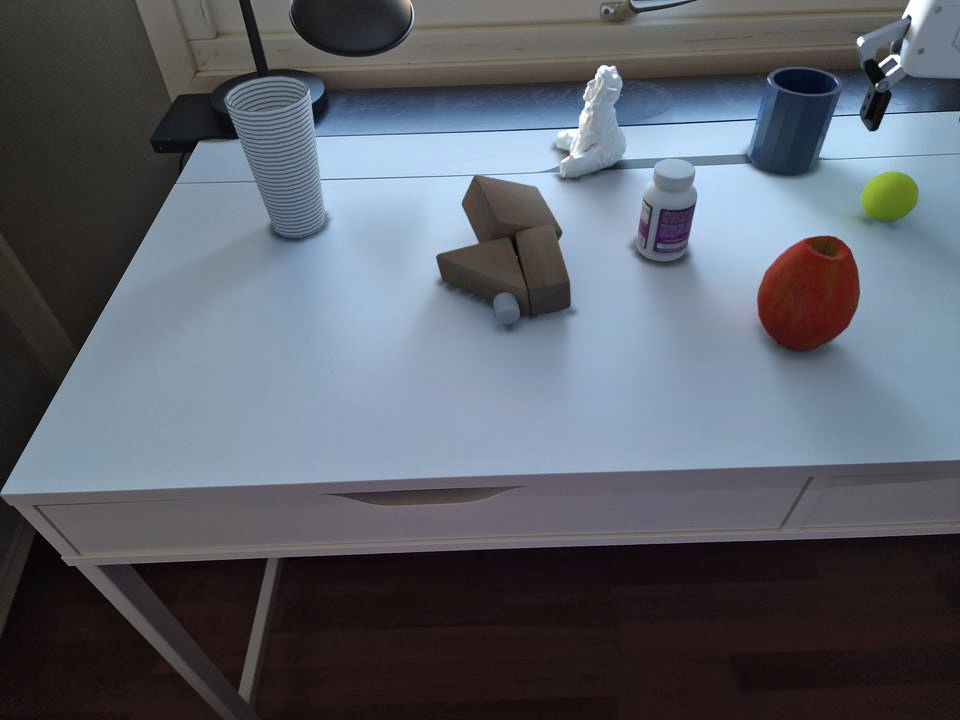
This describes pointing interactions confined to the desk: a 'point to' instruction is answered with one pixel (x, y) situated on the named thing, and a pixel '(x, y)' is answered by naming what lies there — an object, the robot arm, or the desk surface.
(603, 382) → the desk surface
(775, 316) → the apple
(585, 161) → the white creature statuette
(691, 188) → the pill bottle
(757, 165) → the tube
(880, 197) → the ball
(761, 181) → the desk surface
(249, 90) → the cup
